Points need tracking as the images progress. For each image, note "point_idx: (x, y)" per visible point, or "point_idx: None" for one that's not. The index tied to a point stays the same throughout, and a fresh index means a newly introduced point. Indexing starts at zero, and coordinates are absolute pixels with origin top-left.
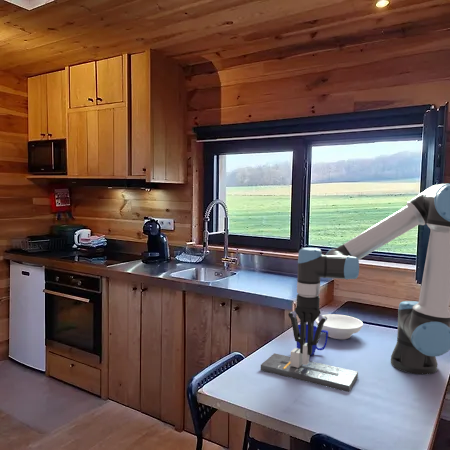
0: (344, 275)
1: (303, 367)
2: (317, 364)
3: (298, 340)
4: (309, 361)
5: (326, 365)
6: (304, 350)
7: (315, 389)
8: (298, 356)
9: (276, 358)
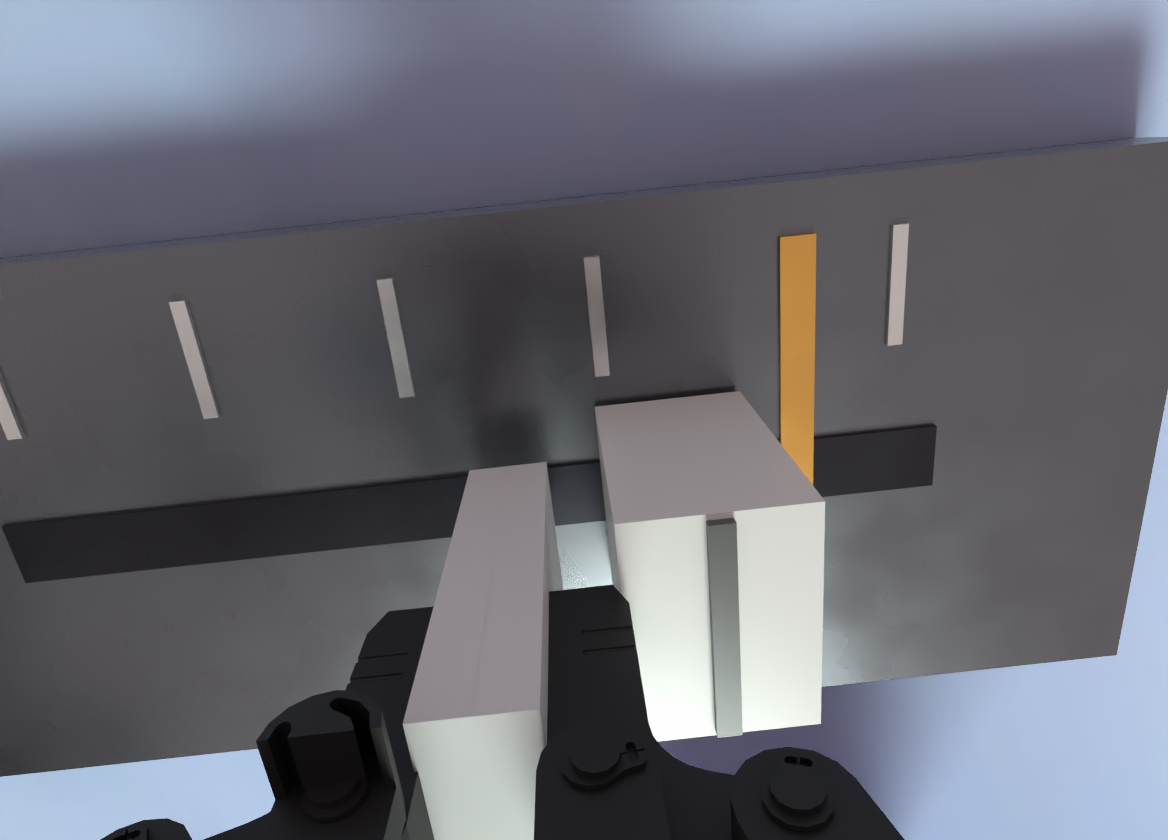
0: None
1: None
2: None
3: (732, 816)
4: None
5: None
6: (495, 617)
7: (132, 50)
8: (621, 489)
9: (1034, 519)
